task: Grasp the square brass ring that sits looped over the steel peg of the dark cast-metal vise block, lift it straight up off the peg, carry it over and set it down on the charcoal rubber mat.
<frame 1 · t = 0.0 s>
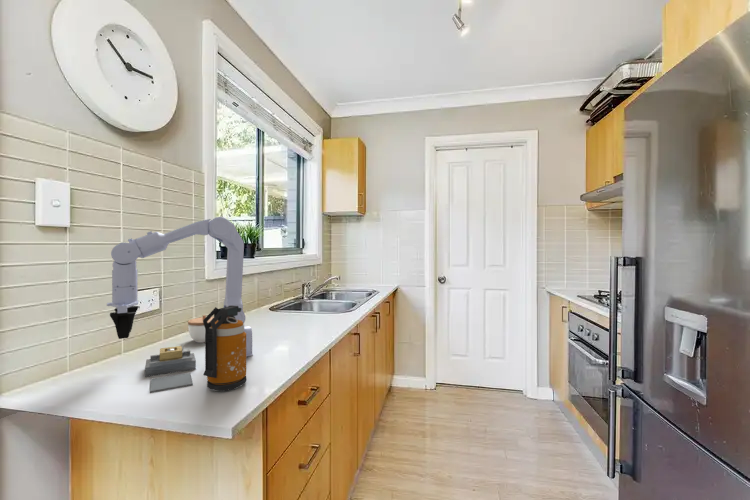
hand: (125, 335, 96), 10 cm above the countertop, tool pointing down, fingers open, 7 cm apart
canister: (224, 388, 85), on the countertop
vise block: (171, 368, 98), on the countertop
rubber mat: (171, 382, 88), on the countertop
brass ring: (171, 359, 98), point 2 cm above the countertop, touching vise block
lidded jar: (204, 341, 129), on the countertop
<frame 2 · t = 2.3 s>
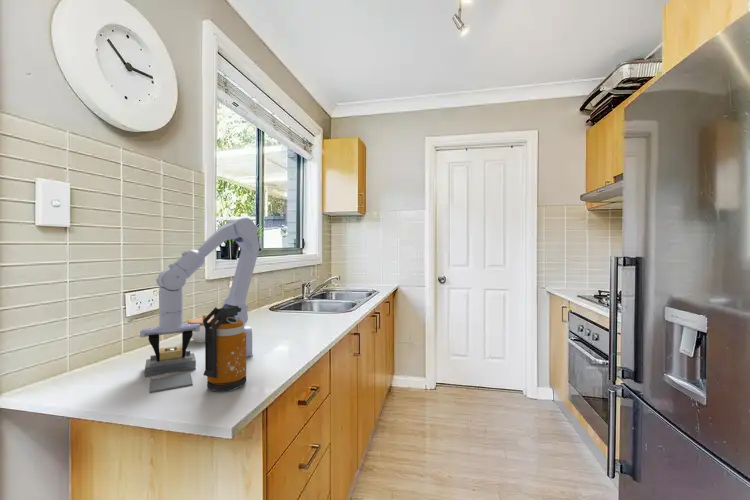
hand: (171, 359, 98), 3 cm above the countertop, tool pointing down, fingers closed on brass ring, 5 cm apart
brass ring: (171, 359, 98), point 2 cm above the countertop, touching gripper, vise block
everything else where it was.
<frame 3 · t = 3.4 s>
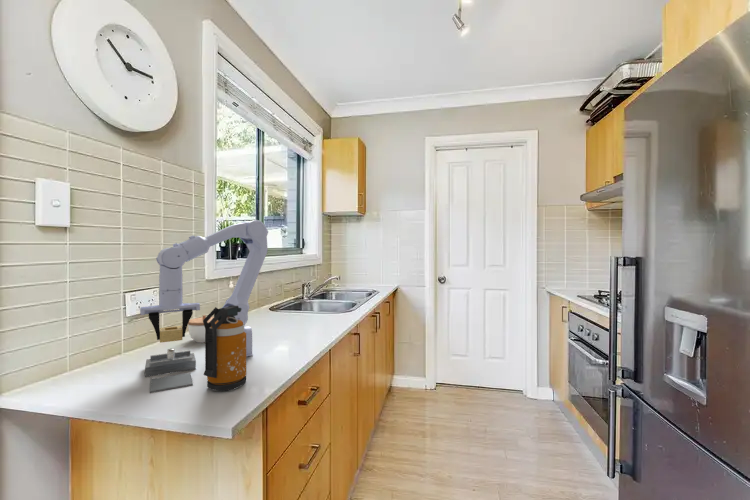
hand: (171, 337, 98), 9 cm above the countertop, tool pointing down, fingers closed on brass ring, 5 cm apart
brass ring: (171, 339, 98), point 8 cm above the countertop, touching gripper
everything else where it was.
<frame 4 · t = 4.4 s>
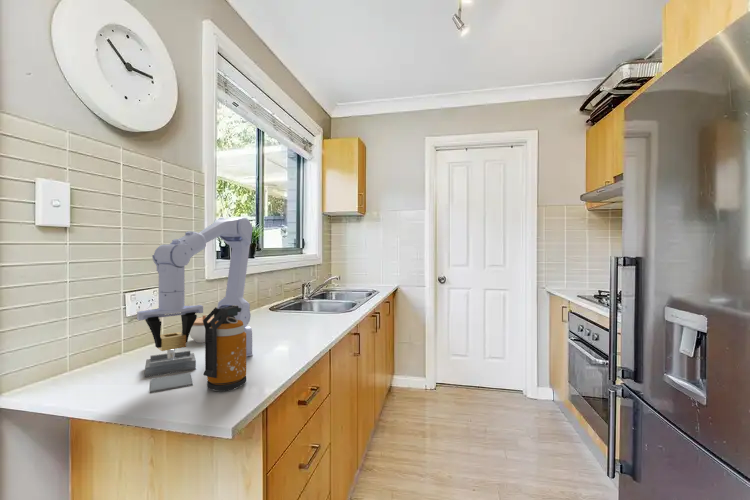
hand: (171, 344, 88), 10 cm above the countertop, tool pointing down, fingers closed on brass ring, 5 cm apart
brass ring: (171, 346, 88), point 9 cm above the countertop, touching gripper
everything else where it was.
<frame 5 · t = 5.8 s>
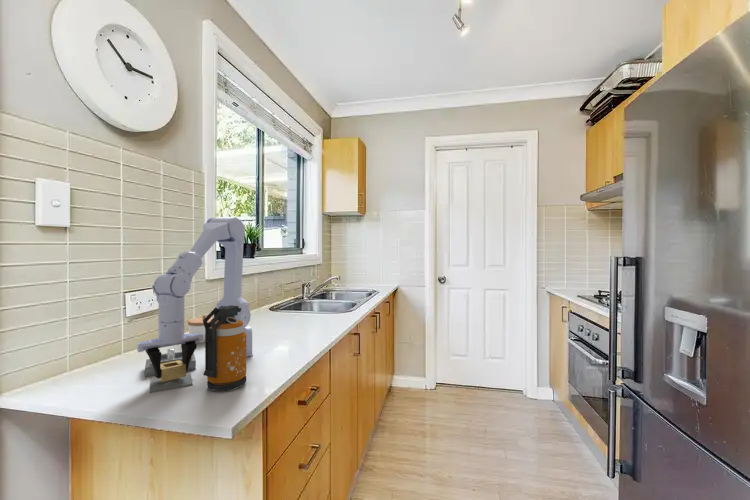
hand: (171, 374, 88), 2 cm above the countertop, tool pointing down, fingers closed on brass ring, 5 cm apart
brass ring: (171, 376, 88), point 2 cm above the countertop, touching gripper
everything else where it was.
when the fingers open (2 cm above the countertop, at t = 6.7 s): brass ring drops 1 cm, resting on rubber mat.
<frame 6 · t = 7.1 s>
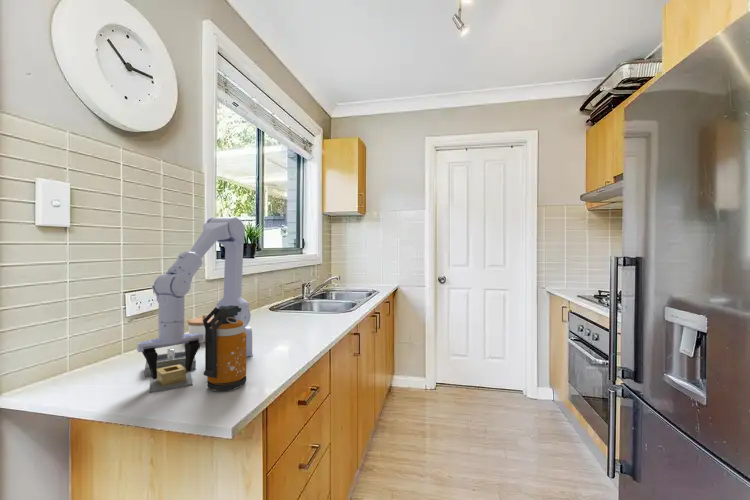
hand: (171, 374, 88), 2 cm above the countertop, tool pointing down, fingers open, 7 cm apart
brass ring: (171, 380, 88), resting on rubber mat
everything else where it was.
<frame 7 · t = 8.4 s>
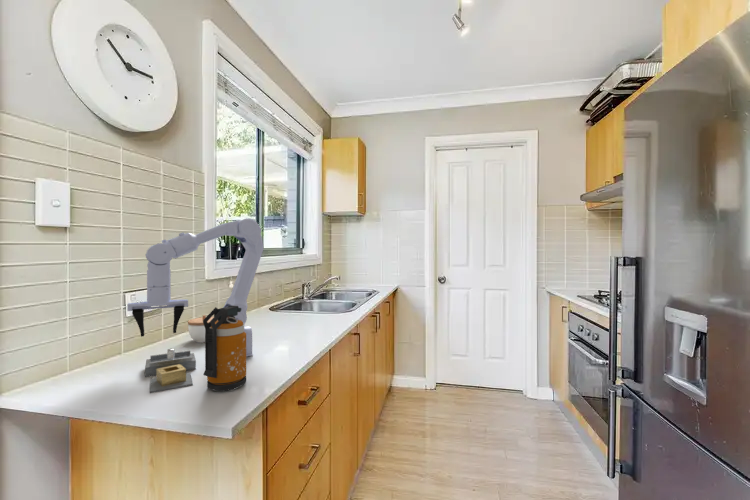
hand: (158, 334, 98), 10 cm above the countertop, tool pointing down, fingers open, 7 cm apart
nothing on the countertop moved.
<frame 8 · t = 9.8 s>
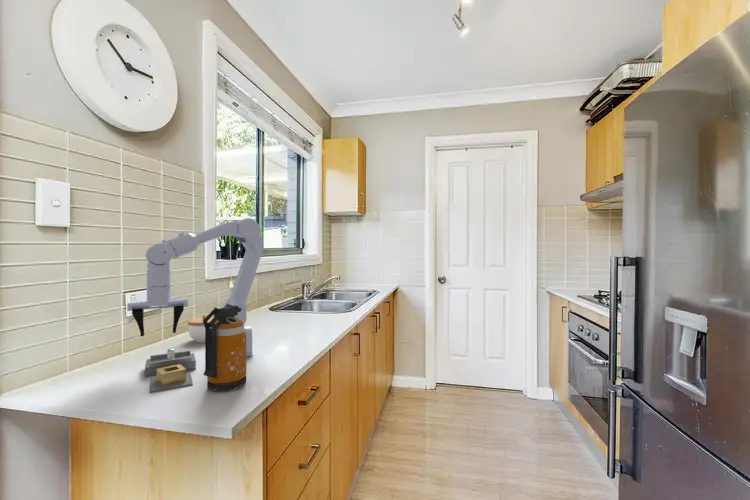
hand: (158, 333, 98), 10 cm above the countertop, tool pointing down, fingers open, 7 cm apart
nothing on the countertop moved.
at the end: brass ring inside the target area on the rubber mat (0.4 cm from its centre), point 0.4 cm above the rubber mat's base; brass ring resting on rubber mat; the gripper is holding nothing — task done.
